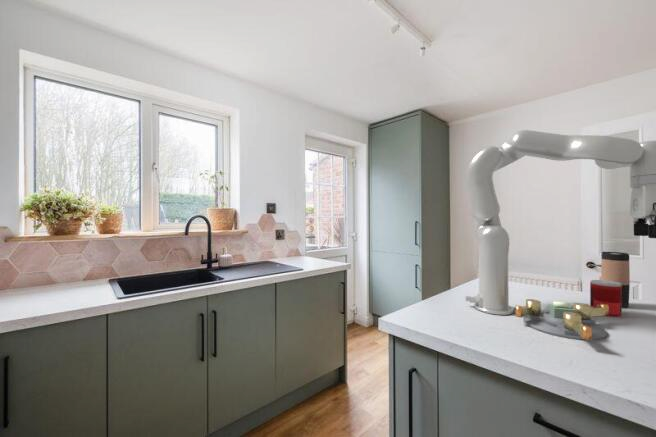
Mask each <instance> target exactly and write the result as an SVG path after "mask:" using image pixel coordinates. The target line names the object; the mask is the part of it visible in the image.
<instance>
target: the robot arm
mask: <svg viewBox="0 0 656 437" xmlns="http://www.w3.org/2000/svg"><path fill="white" fill-rule="evenodd" d="M525 156H526V157H533V158H539V159H544V160H545V159H546V160H551V161H556V162H557V161H559V162H560V161H561V162H562V161H563V162H564V161H571V160H591V161H592V160H594V162H595V165H596V166H598V168H601V169H605V170H614V169H619V168H625V167H629V179H630V180H629V182H630V183H629V187H630V188H631V193H630V202H629V203H630V204H629V216H630V217H631V218H633V236H635V237H648V239H656V140H647V141H641V142H638V141H636V140H634V139H631V138H625V137H619V136H618V137H617V136H608V135H595V134H593V135H587V134H586V135H582V134H579V135H577V134H576V135H575V134H573V135H571V134H570V135H569V134H560V133H552V132H544V131H537V130H530V129H529V130H528V129H523V130H518V131H517V132H515V133H514V134H513V135H512V136H511V137H510V138H509V139H508V140H506V141H505V142H503V143H501V144H499V145H498V146H494V145H491V146H487V147H483V149H480V150H479V152H477V153H476V154H475V155H474V156H473V157H472V160H470V162H469V164H468V167H467V170H466V184H467V185H466V186H467V190H468V196H469V199H470V204H471V205H470V208H469V209H470V210H469V211H470V215H471V219H472V223H473V227H474V232H475V236H476V239H477V241H478V293H477V295H474V296H470V295H469V296H468V295H465V302H469V303H472V304H473V305H474V308H475V309H476V310H478V311H480V312H482V313H486V314H492V315H498V316H499V315H501V316H505V315H506V316H507V315H508V316H509V315H511V314H514V312H515V310H514V308H513V307H512V306H511V305H510V303H509V295H510V294H509V252H510V236H509V233H508V232H507V230H506V229H505V228H504V227H503V226H502V224H501V220H500V215H499V214H500V211H501V206H500V204H499V201H498V200H499V199H498V197H497V194H496V190H495V184H494V180H493V175H494V172H497V171H499V170H500V169H502V168H505V167H506V166H509V165H511V164H513V163H514V162H516V161H518V160H520V159H522V158H524V157H525ZM648 222H649V223H648Z"/></svg>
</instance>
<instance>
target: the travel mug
mask: <svg viewBox="0 0 656 437" xmlns="http://www.w3.org/2000/svg"><path fill="white" fill-rule="evenodd" d="M600 264H601V266H600V270H601V272H600V274H601V276H600V277H601V278H600V280H606V281H613V282H618V283H621V284H622V309H628V308H629V307H630V288H631V284H630V283H631V281H630V280H631V278H630V276H631V275H630V272H631V271H630V253H627V252H620V251H619V252H618V251H602V252H601V262H600Z"/></svg>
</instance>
